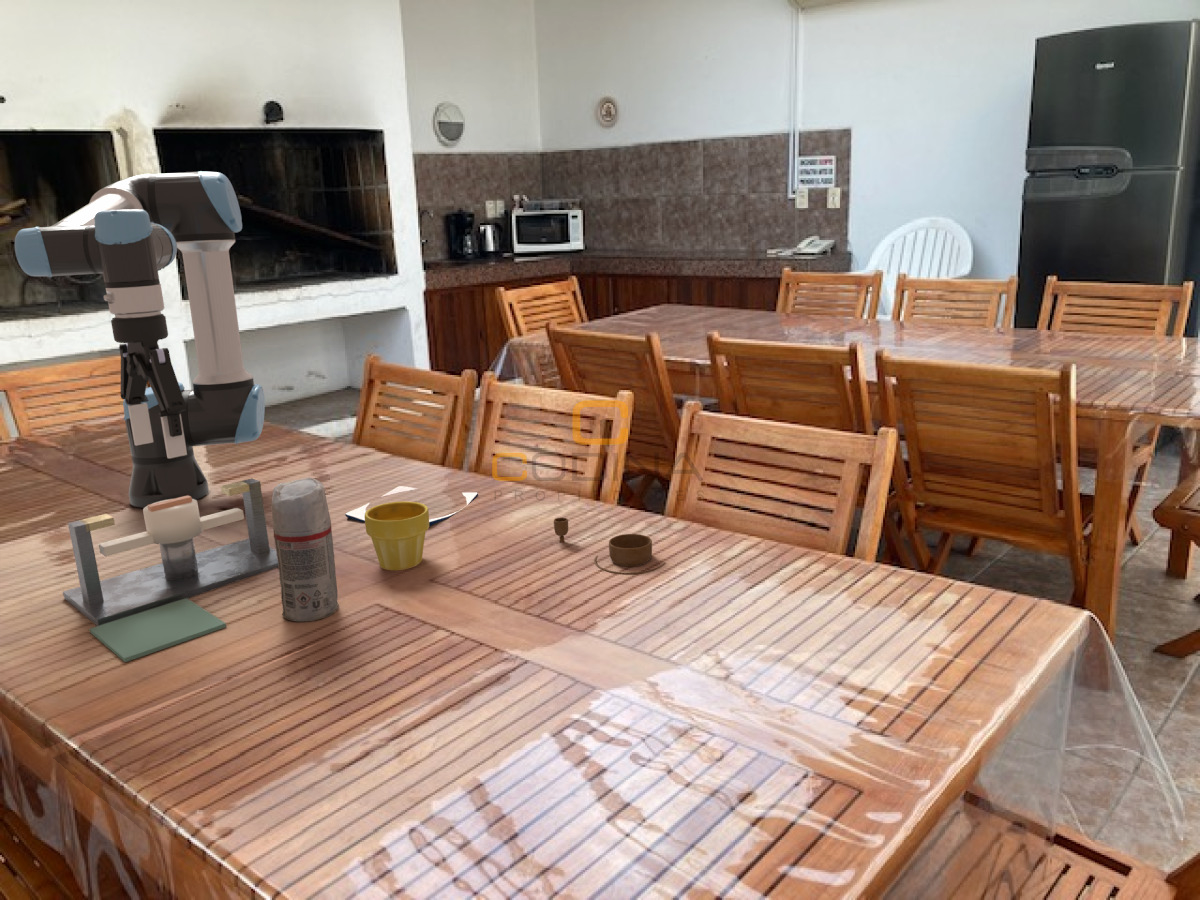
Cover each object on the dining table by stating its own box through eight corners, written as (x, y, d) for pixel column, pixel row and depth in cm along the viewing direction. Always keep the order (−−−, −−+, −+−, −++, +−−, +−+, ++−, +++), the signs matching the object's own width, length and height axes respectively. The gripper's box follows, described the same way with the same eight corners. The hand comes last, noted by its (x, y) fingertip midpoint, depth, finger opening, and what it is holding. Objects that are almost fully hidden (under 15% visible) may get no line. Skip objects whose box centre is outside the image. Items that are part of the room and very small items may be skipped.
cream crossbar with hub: (230, 512, 161) (225, 480, 160) (251, 522, 156) (246, 489, 154) (94, 548, 147) (87, 513, 145) (112, 560, 141) (105, 524, 140)
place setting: (594, 592, 143) (593, 556, 142) (549, 551, 161) (547, 519, 160) (695, 571, 150) (694, 536, 148) (640, 534, 168) (639, 503, 166)
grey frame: (251, 544, 169) (240, 470, 166) (294, 564, 158) (283, 486, 155) (64, 598, 148) (47, 516, 145) (98, 627, 137) (81, 538, 134)
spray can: (353, 603, 142) (338, 476, 137) (320, 626, 134) (303, 493, 129) (306, 597, 145) (289, 473, 139) (271, 620, 137) (253, 489, 132)
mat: (187, 601, 145) (186, 597, 145) (226, 627, 135) (225, 623, 135) (90, 632, 136) (89, 628, 135) (125, 662, 126) (124, 658, 126)
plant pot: (445, 558, 158) (440, 503, 156) (409, 581, 149) (403, 523, 147) (395, 551, 162) (390, 498, 160) (357, 573, 153) (350, 517, 151)
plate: (338, 528, 177) (336, 515, 176) (399, 496, 195) (398, 484, 194) (431, 538, 169) (429, 524, 169) (485, 504, 187) (484, 491, 187)
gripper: (84, 313, 148) (107, 443, 154) (142, 321, 131) (166, 467, 136) (133, 308, 153) (154, 434, 159) (196, 315, 136) (217, 456, 141)
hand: (160, 450), depth 147 cm, fingers open, 13 cm apart
